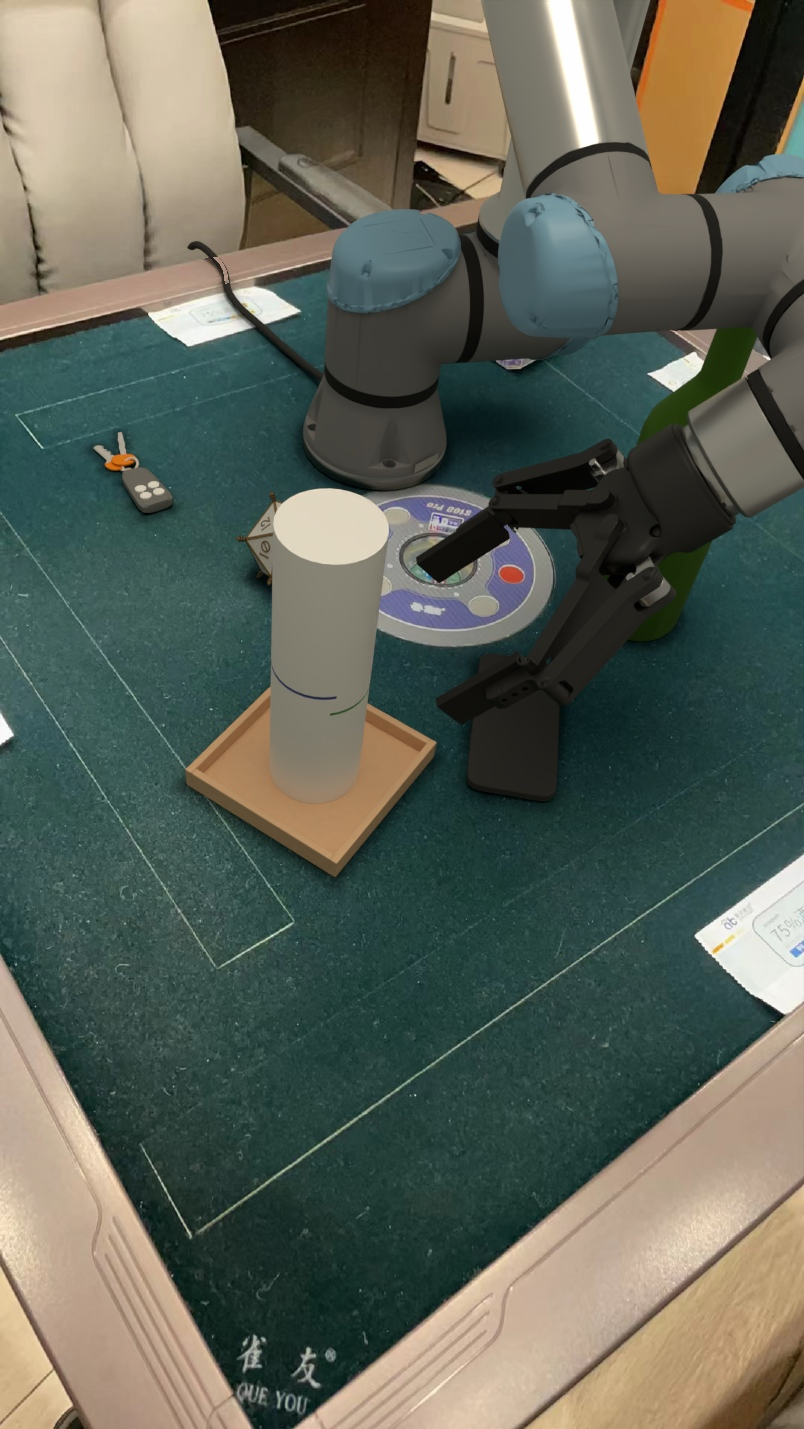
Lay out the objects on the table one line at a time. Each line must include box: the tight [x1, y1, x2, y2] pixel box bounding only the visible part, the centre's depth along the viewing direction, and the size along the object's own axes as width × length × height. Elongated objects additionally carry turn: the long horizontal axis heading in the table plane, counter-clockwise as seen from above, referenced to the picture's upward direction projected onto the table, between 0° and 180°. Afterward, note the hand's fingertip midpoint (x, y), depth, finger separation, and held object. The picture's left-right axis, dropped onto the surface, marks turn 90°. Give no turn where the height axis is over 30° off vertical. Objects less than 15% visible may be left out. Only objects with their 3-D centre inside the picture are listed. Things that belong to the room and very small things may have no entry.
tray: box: [185, 685, 437, 878], centre depth 84 cm, size 14×14×2 cm
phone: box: [465, 652, 561, 802], centre depth 89 cm, size 7×1×15 cm
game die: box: [235, 491, 284, 586], centre depth 95 cm, size 9×8×10 cm
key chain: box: [92, 431, 174, 514], centre depth 105 cm, size 13×4×2 cm, turn 34°
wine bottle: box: [602, 327, 758, 642], centre depth 88 cm, size 9×9×32 cm
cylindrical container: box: [269, 488, 390, 804], centre depth 74 cm, size 7×7×25 cm
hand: (436, 637), depth 74 cm, fingers open, 13 cm apart
